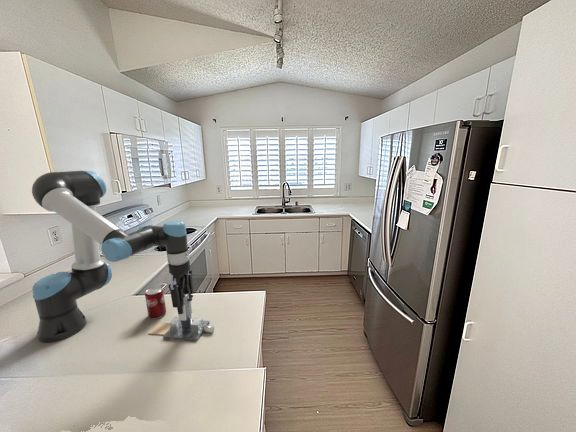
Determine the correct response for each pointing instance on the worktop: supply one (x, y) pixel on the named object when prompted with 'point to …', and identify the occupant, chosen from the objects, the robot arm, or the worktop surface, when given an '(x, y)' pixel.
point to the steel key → (187, 312)
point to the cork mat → (160, 329)
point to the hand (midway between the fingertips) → (185, 316)
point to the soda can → (155, 302)
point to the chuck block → (190, 334)
